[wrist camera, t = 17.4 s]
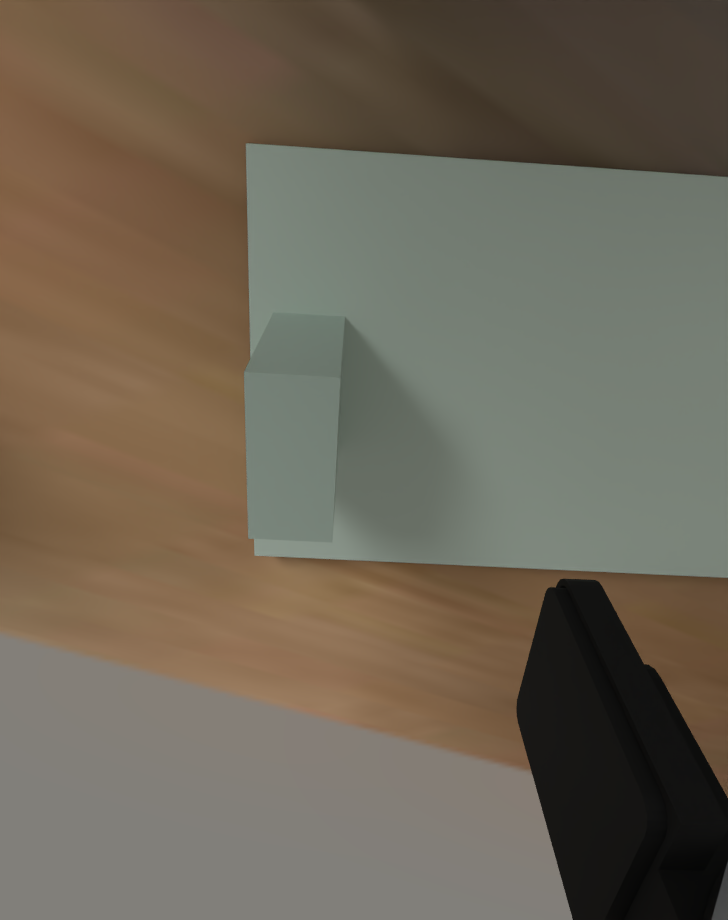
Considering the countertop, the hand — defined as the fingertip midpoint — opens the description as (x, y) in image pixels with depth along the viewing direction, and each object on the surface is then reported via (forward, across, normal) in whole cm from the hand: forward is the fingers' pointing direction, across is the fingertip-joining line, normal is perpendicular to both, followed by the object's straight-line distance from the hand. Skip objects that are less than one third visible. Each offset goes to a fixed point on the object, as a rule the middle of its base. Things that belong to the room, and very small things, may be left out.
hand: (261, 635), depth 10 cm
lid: (+14, -9, +1) cm, 17 cm away
